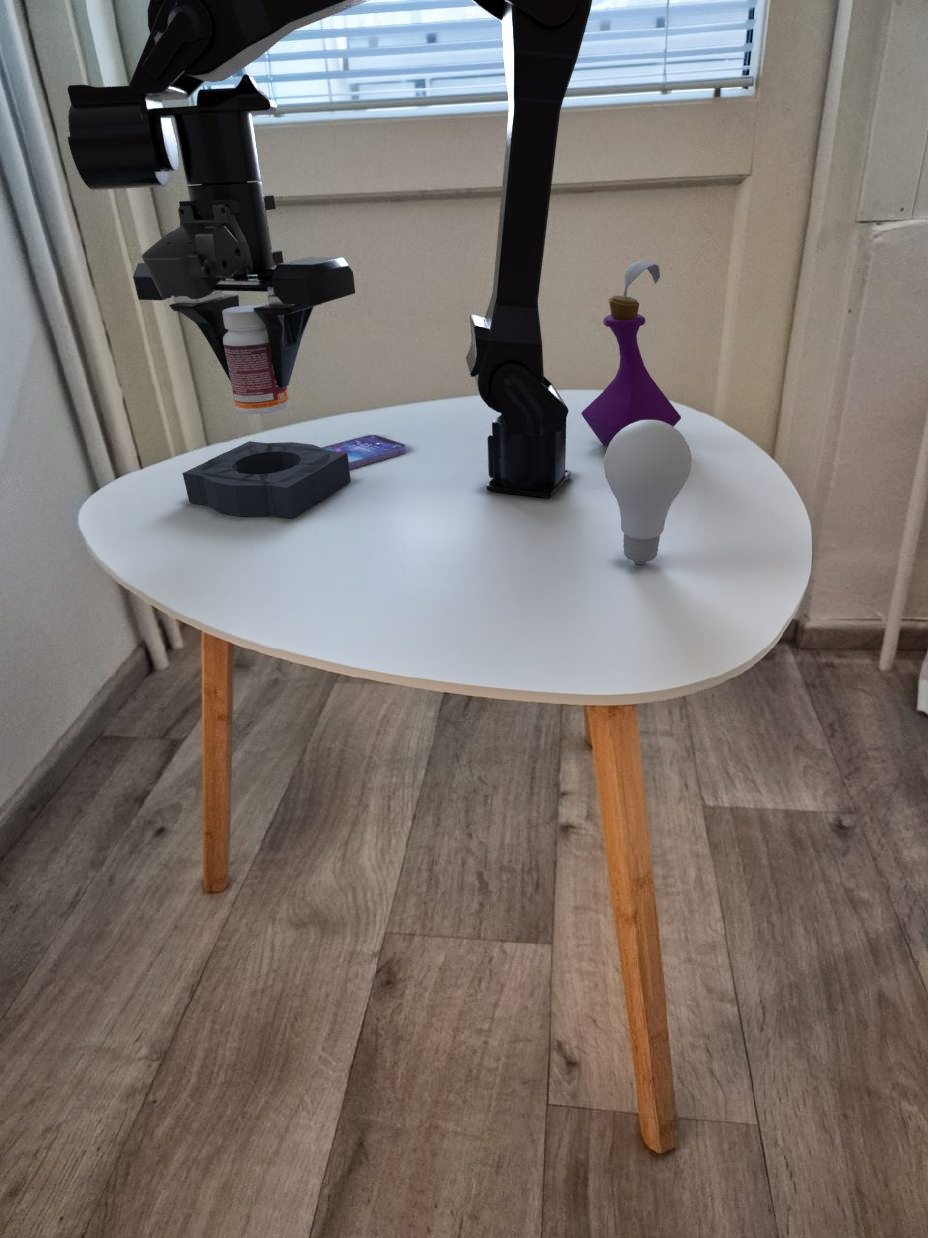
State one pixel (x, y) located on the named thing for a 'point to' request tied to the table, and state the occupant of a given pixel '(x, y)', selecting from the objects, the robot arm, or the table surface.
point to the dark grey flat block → (267, 479)
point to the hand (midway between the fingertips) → (259, 384)
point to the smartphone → (368, 449)
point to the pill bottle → (251, 363)
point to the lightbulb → (646, 481)
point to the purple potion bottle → (628, 372)
